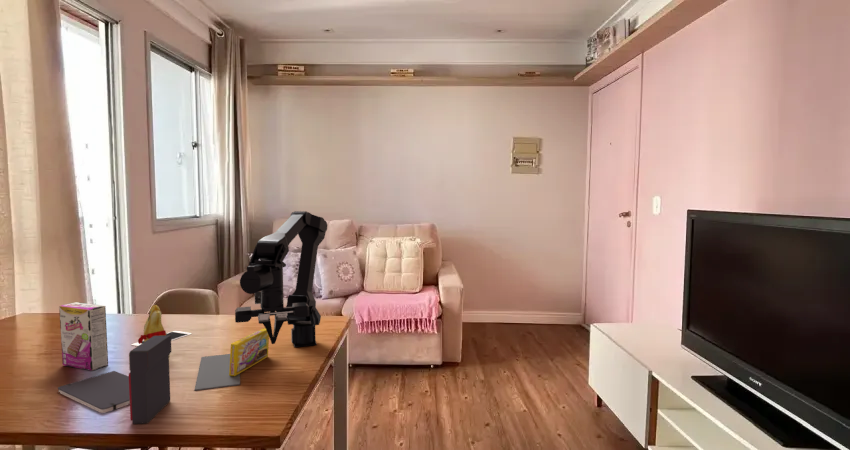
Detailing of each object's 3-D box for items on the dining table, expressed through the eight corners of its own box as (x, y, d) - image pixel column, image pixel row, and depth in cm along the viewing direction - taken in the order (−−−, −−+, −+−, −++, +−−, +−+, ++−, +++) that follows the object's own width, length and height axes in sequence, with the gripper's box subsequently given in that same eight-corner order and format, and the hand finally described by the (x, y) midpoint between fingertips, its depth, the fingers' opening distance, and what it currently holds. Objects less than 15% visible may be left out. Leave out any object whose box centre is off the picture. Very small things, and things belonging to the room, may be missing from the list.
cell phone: (130, 346, 149) (130, 344, 149) (175, 332, 164) (175, 330, 164) (149, 349, 146) (149, 347, 146) (192, 335, 161) (192, 333, 161)
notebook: (161, 395, 115) (114, 376, 126) (161, 388, 114) (114, 370, 126) (102, 416, 104) (56, 394, 115) (102, 409, 104) (56, 387, 115)
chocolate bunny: (159, 351, 144) (158, 300, 143) (173, 360, 136) (171, 306, 135) (133, 356, 139) (131, 304, 138) (145, 366, 131) (143, 311, 130)
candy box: (236, 377, 123) (236, 344, 123) (228, 376, 124) (228, 343, 123) (269, 357, 139) (269, 327, 139) (262, 356, 139) (262, 327, 139)
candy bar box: (60, 366, 131) (57, 305, 130) (79, 360, 136) (76, 301, 135) (91, 371, 128) (88, 309, 126) (109, 365, 132) (106, 304, 131)
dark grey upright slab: (153, 401, 110) (150, 335, 109) (173, 400, 110) (171, 334, 109) (128, 424, 99) (124, 351, 98) (150, 424, 99) (147, 351, 98)
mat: (239, 353, 142) (239, 352, 142) (240, 384, 119) (240, 383, 119) (201, 357, 138) (201, 356, 138) (194, 390, 116) (194, 389, 116)
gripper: (304, 278, 143) (304, 331, 144) (234, 283, 136) (236, 338, 137) (309, 285, 132) (310, 343, 133) (234, 290, 126) (236, 351, 127)
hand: (273, 343), depth 133 cm, fingers closed
